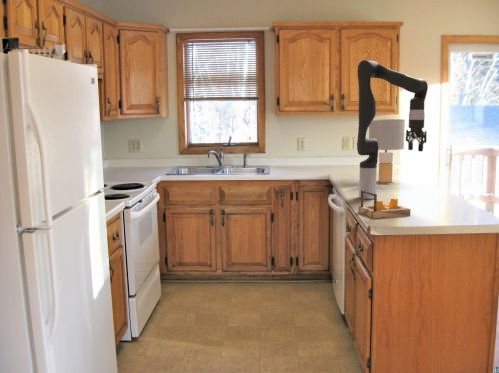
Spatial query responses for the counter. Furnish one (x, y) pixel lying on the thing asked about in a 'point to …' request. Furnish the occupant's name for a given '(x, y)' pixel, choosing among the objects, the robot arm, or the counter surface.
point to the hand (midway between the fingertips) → (415, 150)
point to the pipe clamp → (391, 205)
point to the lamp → (387, 143)
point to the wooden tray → (374, 213)
